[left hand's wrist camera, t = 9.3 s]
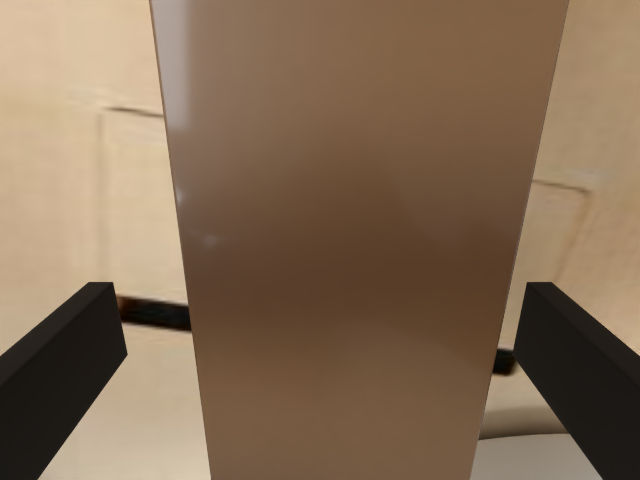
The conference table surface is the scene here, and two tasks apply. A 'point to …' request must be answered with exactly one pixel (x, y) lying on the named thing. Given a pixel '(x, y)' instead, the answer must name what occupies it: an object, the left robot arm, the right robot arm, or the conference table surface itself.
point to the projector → (531, 459)
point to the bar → (350, 220)
